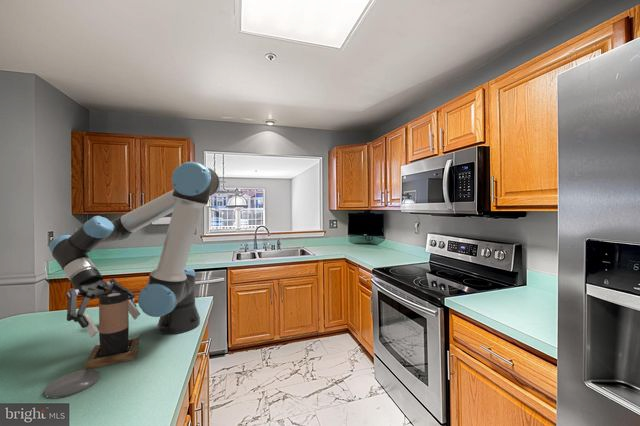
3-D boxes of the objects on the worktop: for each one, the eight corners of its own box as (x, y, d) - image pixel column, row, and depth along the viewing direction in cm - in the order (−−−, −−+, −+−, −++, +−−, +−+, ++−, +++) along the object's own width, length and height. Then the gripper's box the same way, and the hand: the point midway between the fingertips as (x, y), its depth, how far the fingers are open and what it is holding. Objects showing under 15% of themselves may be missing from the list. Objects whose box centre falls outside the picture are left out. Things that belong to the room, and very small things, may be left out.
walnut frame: (138, 342, 97) (138, 337, 97) (134, 359, 86) (134, 352, 86) (95, 351, 91) (95, 345, 91) (85, 369, 81) (85, 362, 81)
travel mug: (113, 362, 84) (112, 297, 84) (92, 360, 86) (92, 296, 86) (134, 350, 92) (134, 290, 91) (115, 348, 93) (115, 289, 93)
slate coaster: (103, 368, 81) (103, 365, 81) (94, 389, 72) (94, 386, 72) (53, 379, 76) (53, 376, 76) (36, 403, 67) (36, 400, 66)
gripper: (115, 273, 105) (146, 317, 101) (30, 292, 81) (66, 351, 77) (125, 260, 103) (157, 304, 99) (42, 276, 79) (79, 334, 75)
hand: (117, 324), depth 88 cm, fingers open, 13 cm apart
